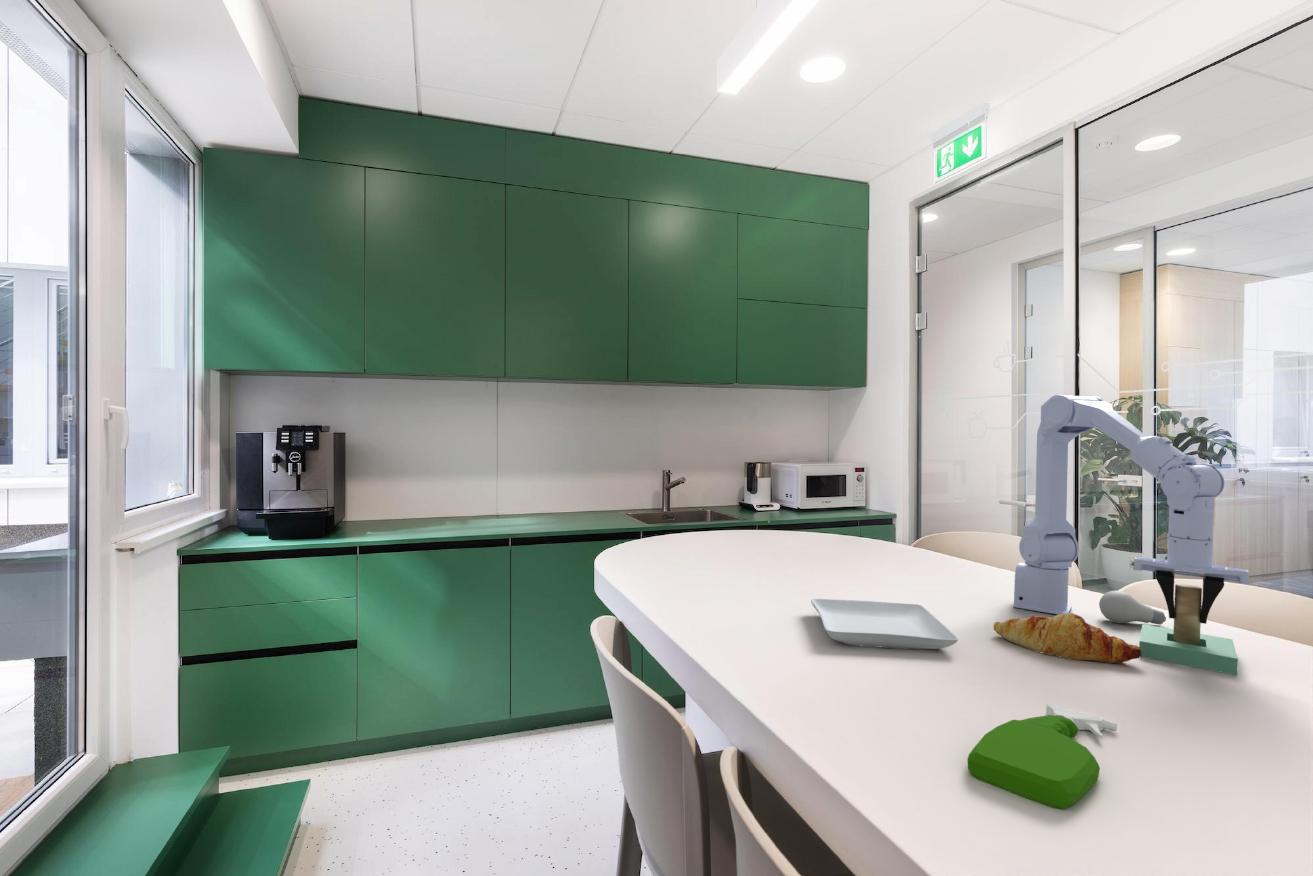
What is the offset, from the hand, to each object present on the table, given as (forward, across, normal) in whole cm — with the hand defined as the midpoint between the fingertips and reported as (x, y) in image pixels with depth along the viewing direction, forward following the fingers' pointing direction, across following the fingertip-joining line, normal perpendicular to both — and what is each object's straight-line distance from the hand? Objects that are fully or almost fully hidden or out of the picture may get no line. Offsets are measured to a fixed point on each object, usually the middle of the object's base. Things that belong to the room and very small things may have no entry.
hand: (1187, 619), depth 107 cm
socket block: (+6, 0, 0) cm, 6 cm away
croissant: (+6, -16, -11) cm, 21 cm away
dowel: (+3, 0, 0) cm, 3 cm away
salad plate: (+6, -43, -23) cm, 49 cm away
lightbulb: (+5, -3, +18) cm, 19 cm away
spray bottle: (+7, -13, -53) cm, 55 cm away
